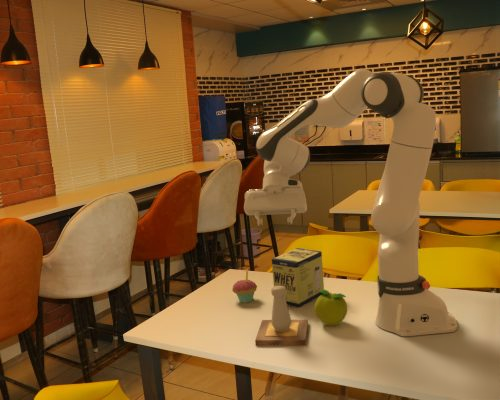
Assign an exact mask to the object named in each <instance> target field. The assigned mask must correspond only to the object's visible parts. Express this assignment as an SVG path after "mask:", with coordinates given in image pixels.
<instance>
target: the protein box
mask: <svg viewBox="0 0 500 400" xmlns="http://www.w3.org/2000/svg"><path fill="white" fill-rule="evenodd" d="M322 254H323V252H322V251H321V250H316V249H315V250H314V249H313V250H312V249H307V248H301V247H297V248H295V249H292V250H289V251H287V252H286V253H283V254H281V255H278V256H276V257H273V258H271V266H272V267H271V268H272V278H273V281H272V282H273V287H274V286H284V287H285V288H286V295H285V299H286V303H287V306H289V307H295V308H298V309H299V308H301V307H303V306H305V305H306V304H308V303H310V302H312V301H314V300H316V299H318V297H319V296H320V295H322V294H323V293H321V292H318V291H320V290H323V289H324V290H325V284H324V267H323V255H322Z"/></svg>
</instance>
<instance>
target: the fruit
mask: <svg viewBox="0 0 500 400" xmlns="http://www.w3.org/2000/svg"><path fill="white" fill-rule="evenodd" d="M318 292H321V293H323V294H322V295H320V296H319V297H317V298H316V301H315V304H314V313H315V316H316V317H317V318H318V319H319V321H320V322H322V323H323V324H324V325H326V326H332V327H333V326H334V327H335V326H337V325H338V324H340V323H342V322H343V321H344V319H345V318H346V316H347V313H348V303H347V302H346V300H345V298H346V297H347V296H346V295H345V294H343V293H331V292H330V291H329V290H326V289H325V288H324V289H323V290H320V291H318Z"/></svg>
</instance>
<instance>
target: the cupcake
mask: <svg viewBox="0 0 500 400" xmlns="http://www.w3.org/2000/svg"><path fill="white" fill-rule="evenodd" d="M257 288H258V286H257V284H256V282H254V281H252V280H251V279H249V270H248V267H247V269H246V271H245V279H243V280H242V279H241V280H237V281H236V282H235V283H234V284H233V285H232V288H231V289H232V290H231V291H232V292H233V293H235V294H236V296H237V298H238V301H239V302H241V303H250V302H252V301H253V300H254V296H255V292H256V291H257Z"/></svg>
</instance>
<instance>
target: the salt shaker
mask: <svg viewBox="0 0 500 400" xmlns="http://www.w3.org/2000/svg"><path fill="white" fill-rule="evenodd" d="M271 295H272V297H273V300H272V312H271V319H270V320H271V322H272V326H273V327H274V329H275V330H276V331H277V332H286V331H288V330H289V327H290V325H291V320H292V319H291V318H292V317H291V314H290V312H289V308H288V305H287V303H286V299H285V295H286V288H285V287H284V286H274V285H273V287H272V288H271Z"/></svg>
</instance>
